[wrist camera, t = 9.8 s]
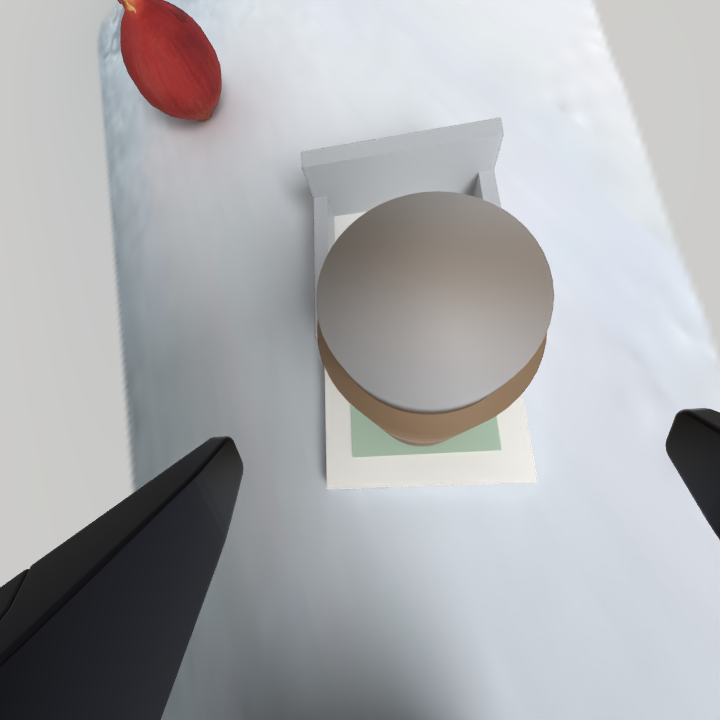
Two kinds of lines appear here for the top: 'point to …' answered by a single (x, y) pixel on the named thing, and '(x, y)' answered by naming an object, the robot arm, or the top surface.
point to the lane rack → (331, 218)
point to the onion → (170, 59)
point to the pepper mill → (433, 314)
